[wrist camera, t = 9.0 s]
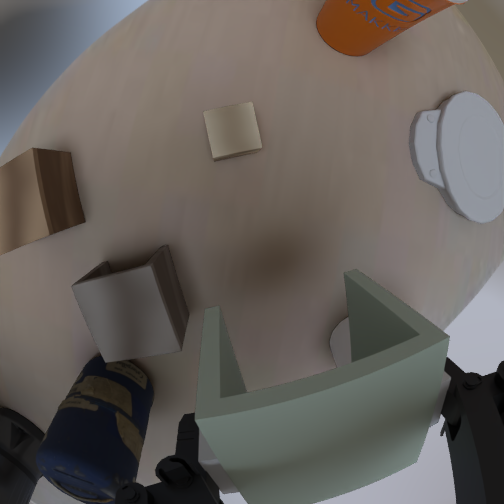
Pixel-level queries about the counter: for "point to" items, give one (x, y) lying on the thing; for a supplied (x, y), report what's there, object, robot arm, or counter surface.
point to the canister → (98, 432)
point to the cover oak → (134, 309)
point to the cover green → (325, 405)
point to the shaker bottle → (372, 21)
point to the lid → (462, 155)
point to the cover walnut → (37, 197)
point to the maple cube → (232, 131)
